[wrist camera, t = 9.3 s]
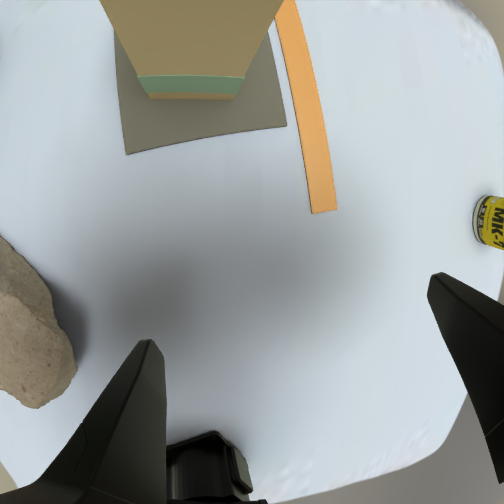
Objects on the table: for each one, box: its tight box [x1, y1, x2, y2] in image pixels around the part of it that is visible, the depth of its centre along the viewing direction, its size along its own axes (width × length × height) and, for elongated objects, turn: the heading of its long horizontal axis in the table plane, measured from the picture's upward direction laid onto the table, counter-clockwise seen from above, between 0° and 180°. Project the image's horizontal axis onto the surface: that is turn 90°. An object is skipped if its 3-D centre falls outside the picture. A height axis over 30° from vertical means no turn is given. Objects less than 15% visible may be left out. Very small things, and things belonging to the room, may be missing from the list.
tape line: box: [275, 0, 337, 214], centre depth 18 cm, size 18×2×1 cm, turn 9°
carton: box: [100, 0, 284, 101], centre depth 10 cm, size 5×5×12 cm
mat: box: [114, 30, 287, 155], centre depth 16 cm, size 10×10×1 cm
